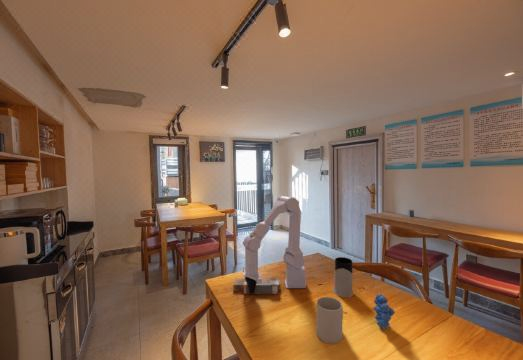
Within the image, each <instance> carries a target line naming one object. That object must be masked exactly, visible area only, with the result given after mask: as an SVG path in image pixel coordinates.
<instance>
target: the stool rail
mask: <svg viewBox="0 0 523 360" xmlns="http://www.w3.org/2000/svg"><path fill="white" fill-rule="evenodd" d="M244 282H246V280H245V278H244V279H243V278H239V279H238V278H237V279H236V278H235V279H233V285H232V286H233V287H232V288H233V289H232V290H233V292H244ZM262 283H270V285H278V292H280V291H281V280H280V278H278V277H277V278H276V277H275V278H272V277H271V278H262Z"/></svg>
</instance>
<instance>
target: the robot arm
mask: <svg viewBox="0 0 523 360" xmlns="http://www.w3.org/2000/svg"><path fill="white" fill-rule="evenodd" d="M284 213H285V214H286V213H287V215H289V220H288V221H289V223H288V243H287V244H288V245H287V247H285V250H284V254H283V261H284V263H285V266H286V267H285V272H286V274H285V279H284V283H285V288H286V289H306V288H307V286H306V285H307V284H306V280H307V278H306V277H307V272H306V267H305V266H304V265H305V259H304V252H303V251H302V250H301V248H300V242H301V241H300V240H301V223H302V222H301V221H302V220H301V217H302V211H301V208H300V201H299V200H298V199H297V198H296V197H293V196H292V197H290V196H285V195H279V196H278V198H276V200H275V202H274V204H273V206H272V208H271V210H270V211H269V212H268V214H266V217H265V218H264V220H263V221H259V222H258V223H256V224H255V227H254V229H252V232H250V233H249V235H247V236H246V237H245V238H244V239H243V241H242V246H244V248H245V249H244V252H245V253H244V258H245V262H244V265H245V266H244V267H242V272H243V274H242V276H243V277H244V279H245V280H246V282H247V285H248V289H249V293H250V295H252V293H254V292H255V287H256V284H260V283H262V279H263V278H262V277H261V275H260V273H259V249H261V243H262V240H263V239H265V237H266V235H267V234H268V232H269V231H270V226H271V225H272V224H273V222H274V221H275V220H276V219H277V218H278V217H279V215H280V214H284Z"/></svg>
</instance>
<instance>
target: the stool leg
mask: <svg viewBox="0 0 523 360" xmlns="http://www.w3.org/2000/svg"><path fill="white" fill-rule="evenodd" d="M278 292H279V291H278V285H270V283H260V284H256V287H255V292H254V293H252V294H255V295H277V294H278ZM243 294H245V295H246V294H250V293H249V289H248V285H247V282H244V291H243ZM252 294H250V295H252Z"/></svg>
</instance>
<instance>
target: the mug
mask: <svg viewBox="0 0 523 360" xmlns="http://www.w3.org/2000/svg"><path fill="white" fill-rule="evenodd" d="M343 309H344V308H343V303H342V302H341V301H340V300H339V299H337V298H334V297H331V296H330V297H329V296H324V297H320V298H318V299H317V301H316V328H315V329H316V330H315V331H316V336H317V337H318V339H319V340H321V341H322V342H325V343H327V344H333V345H334V344H338V343H340V342H341V341H342V339H343V313H344V310H343Z"/></svg>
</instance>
